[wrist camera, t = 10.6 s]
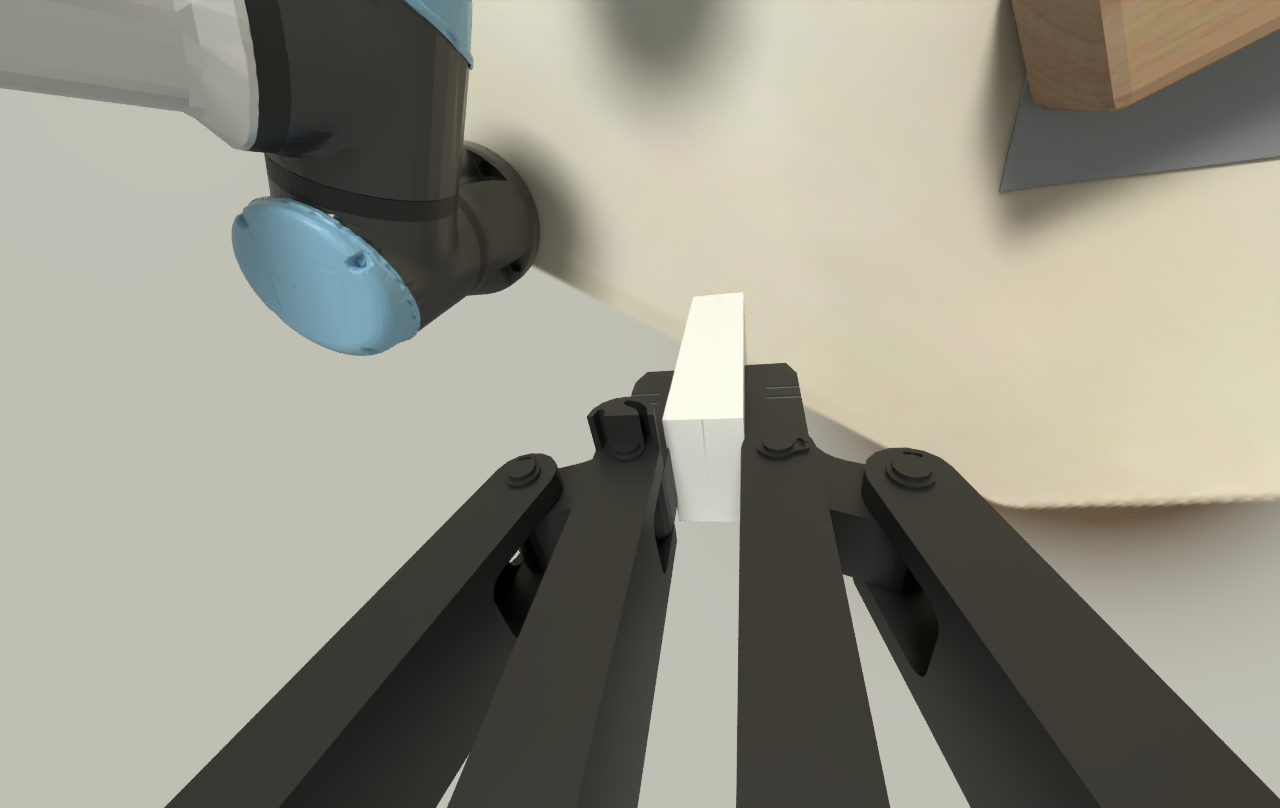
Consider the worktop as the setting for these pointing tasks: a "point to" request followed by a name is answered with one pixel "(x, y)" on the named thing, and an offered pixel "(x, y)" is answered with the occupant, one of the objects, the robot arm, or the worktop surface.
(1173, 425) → the worktop surface
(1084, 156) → the mat
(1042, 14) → the wooden block
